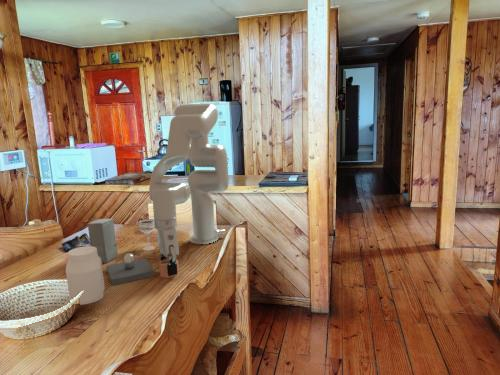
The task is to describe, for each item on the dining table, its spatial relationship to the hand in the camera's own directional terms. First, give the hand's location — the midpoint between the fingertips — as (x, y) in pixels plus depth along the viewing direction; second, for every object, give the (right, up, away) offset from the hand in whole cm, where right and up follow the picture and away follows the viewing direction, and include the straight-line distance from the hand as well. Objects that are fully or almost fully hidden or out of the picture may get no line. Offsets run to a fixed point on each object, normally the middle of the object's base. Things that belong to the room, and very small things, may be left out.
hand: (169, 270), depth 134 cm
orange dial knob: (0, -1, 0) cm, 1 cm away
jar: (-22, -5, -14) cm, 27 cm away
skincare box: (-29, +1, +17) cm, 33 cm away
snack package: (-47, +3, +32) cm, 57 cm away
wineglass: (-14, +3, +27) cm, 31 cm away
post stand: (-14, -1, +2) cm, 14 cm away
